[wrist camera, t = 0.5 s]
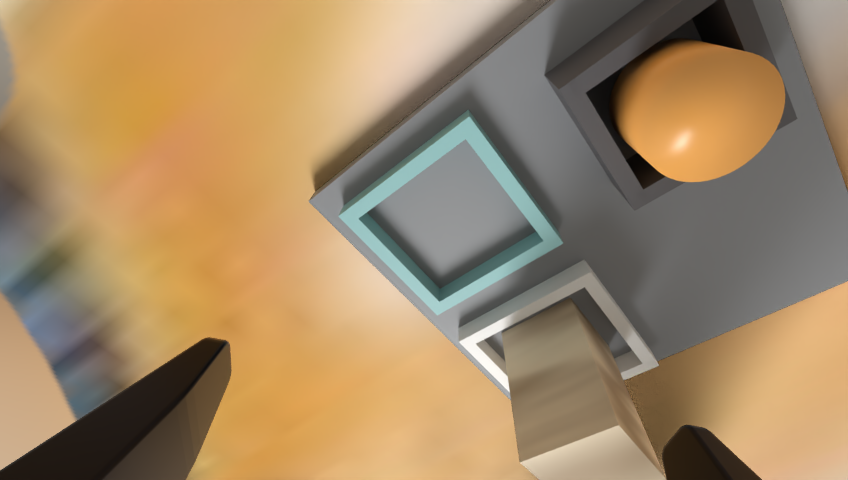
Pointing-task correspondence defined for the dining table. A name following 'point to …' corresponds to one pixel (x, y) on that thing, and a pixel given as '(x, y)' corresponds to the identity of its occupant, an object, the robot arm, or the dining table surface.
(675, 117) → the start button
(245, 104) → the dining table surface
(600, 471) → the block
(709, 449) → the robot arm
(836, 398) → the dining table surface
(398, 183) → the grey shape sorting board
